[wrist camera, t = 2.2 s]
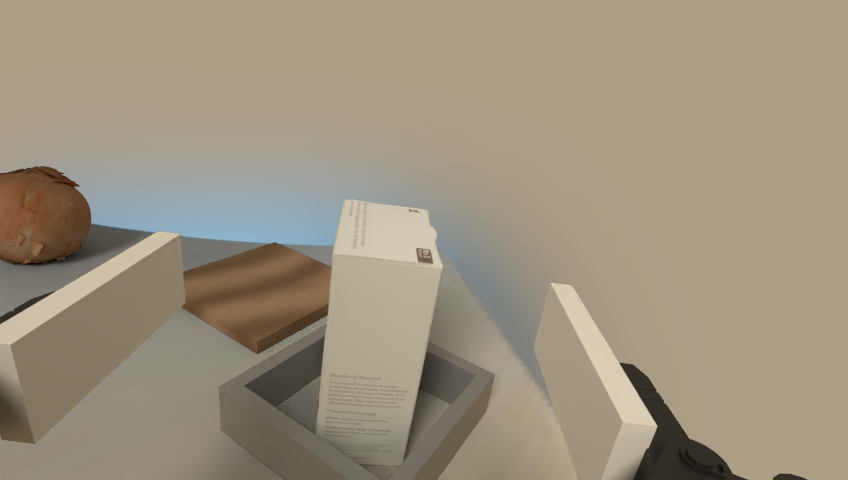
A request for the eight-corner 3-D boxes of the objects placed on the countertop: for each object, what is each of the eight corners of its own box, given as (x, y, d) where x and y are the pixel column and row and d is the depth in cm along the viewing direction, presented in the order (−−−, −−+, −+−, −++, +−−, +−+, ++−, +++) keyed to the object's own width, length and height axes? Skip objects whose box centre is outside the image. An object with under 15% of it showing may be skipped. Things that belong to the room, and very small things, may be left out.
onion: (73, 267, 50) (100, 181, 51) (75, 282, 43) (107, 182, 43) (-46, 247, 44) (-13, 150, 45) (-67, 261, 37) (-27, 145, 37)
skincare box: (326, 378, 35) (338, 195, 29) (403, 381, 35) (430, 204, 30) (311, 471, 27) (324, 247, 21) (410, 473, 28) (448, 257, 22)
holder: (220, 429, 29) (219, 386, 27) (352, 341, 39) (355, 307, 38) (382, 555, 23) (389, 508, 22) (485, 411, 34) (494, 374, 32)
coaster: (157, 291, 42) (156, 280, 42) (274, 251, 54) (275, 242, 53) (257, 353, 36) (257, 341, 36) (365, 293, 47) (367, 283, 47)
